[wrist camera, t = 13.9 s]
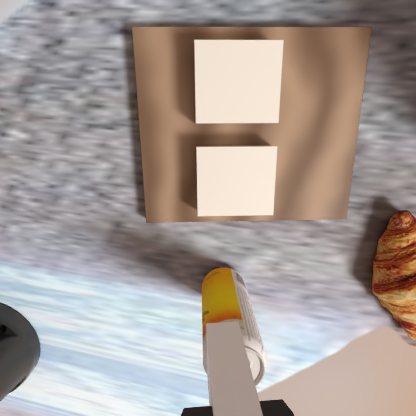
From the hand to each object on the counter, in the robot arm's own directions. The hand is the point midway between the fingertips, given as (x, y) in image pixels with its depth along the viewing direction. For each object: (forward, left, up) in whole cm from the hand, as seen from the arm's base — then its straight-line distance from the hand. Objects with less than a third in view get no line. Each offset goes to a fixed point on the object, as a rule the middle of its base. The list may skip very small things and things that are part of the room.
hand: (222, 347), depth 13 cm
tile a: (+8, +15, -22) cm, 27 cm away
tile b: (+8, +4, -22) cm, 23 cm away
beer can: (+2, -11, -25) cm, 27 cm away
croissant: (+28, -10, -25) cm, 39 cm away
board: (+5, +10, -25) cm, 27 cm away
